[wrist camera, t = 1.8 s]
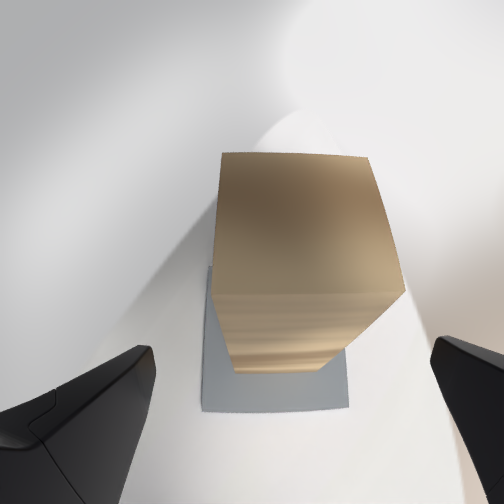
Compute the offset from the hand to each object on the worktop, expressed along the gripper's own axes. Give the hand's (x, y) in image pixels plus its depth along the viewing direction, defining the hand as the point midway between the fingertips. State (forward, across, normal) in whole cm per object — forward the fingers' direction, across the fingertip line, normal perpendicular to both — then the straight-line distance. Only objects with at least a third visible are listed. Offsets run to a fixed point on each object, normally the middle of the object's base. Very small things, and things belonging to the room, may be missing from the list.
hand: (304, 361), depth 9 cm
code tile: (+10, 0, +5) cm, 12 cm away
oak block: (+10, 0, +5) cm, 11 cm away
